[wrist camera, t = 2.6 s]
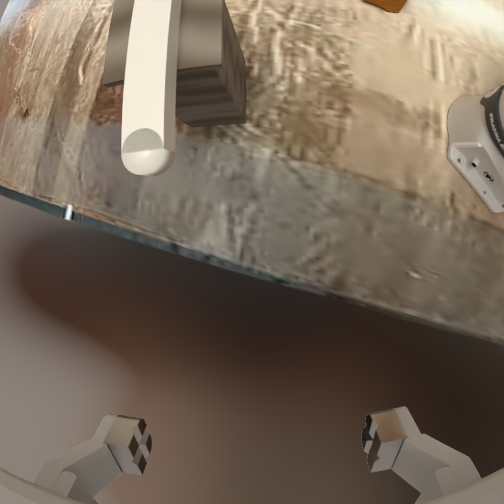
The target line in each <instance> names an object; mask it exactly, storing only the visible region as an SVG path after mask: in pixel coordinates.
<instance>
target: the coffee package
mask: <svg viewBox="0 0 504 504" xmlns="http://www.w3.org/2000/svg"><path fill="white" fill-rule="evenodd" d="M363 1H364V2H366V3H371V4H374V5H376V6H378V7H381V8H383V9H385V10H386V11H389V12H394V13H399V11H400V10H401V9H402V7H403V6H404V5H405V3H406V1H407V0H363Z"/></svg>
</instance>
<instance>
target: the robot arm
mask: <svg viewBox="0 0 504 504" xmlns="http://www.w3.org/2000/svg"><path fill="white" fill-rule="evenodd" d="M447 128H448V134H449V146H448V152H447V156H448V160H449V161H450V162H451V163H452V165H453V166H454V167H455V168H456V169H457V170H458V171H459V172H460V174H461V175H462V176H463V177H464V178H465V179H466V181H467V182H468V183H469V184H470V185H471V187H472V188H473V189H474V190H475V191H476V193H477V194H478V195H479V196H480V198H481V199H482V200H483V202H484V203H485V204H486V205H487V207H488V208H489V209H490V211H491V212H492V213H501V212H503V211H504V86H499V87H496V88H494V89H492V90H490V91H488V92H487V93H486V94H484V95H478V96H471V95H465V96H461V97H459V98H458V99H456V100H455V101H454V102H453V104H452V105H451V107H450V109H449V113H448V118H447ZM457 159H459V163H458V162H457ZM502 204H503V207H502ZM365 422H366V426H365V427H364V428H363V431H362V446H363V450H364V451H365V452H366V453H367V454H368V457H367V463H368V466H369V469H370V472H376V471H381V470H386V469H391V468H392V470H393V471H394V472H396V473H397V474H398V475H399V476H400V477H402V478H403V479H404V480H405V481H407V482H408V483H409V484H411V485H412V486H413V487H414V488H416V489H417V490H418V491H420V492H421V495H420V497H419V498H418V499H417V501H416V502H415V504H504V468H502V469H501V470H499V471H497V472H495V473H493V474H491V475H489V476H487V477H485V478H483V479H481V477H480V475H479V473H478V472H477V470H476V468H475V466H474V464H473V463H472V461H471V459H470V457H468V456H466V455H464V454H462V453H459V452H458V451H456V450H454V449H452V448H450V447H448V446H446V445H444V444H442V443H441V442H439V441H437V440H435V439H433V438H431V437H429V436H428V435H426V434H422V435H421V433H420V431H419V429H418V428H417V426H416V424H415V422H414V420H413V418H412V416H411V414H410V413H409V411H408V409H407V408H406V407H400V408H395V409H390V410H385V411H380V412H374V413H369V414H367V416H366V419H365ZM146 426H147V424H146V422H145V419H142V418H136V417H129V416H123V415H116V414H110V413H108V414H106V415H105V416H104V418H103V420H102V421H101V423H100V425H99V427H98V429H97V430H96V432H95V434H94V436H93V438H92V440H86V441H84V442H83V443H81V444H79V445H77V446H76V447H74V448H72V449H70V450H68V451H66V452H64V453H63V454H61V455H59V456H57V457H55V458H53V459H51V460H49V461H47V462H46V463H45V464H44V465H43V467H42V469H41V471H40V472H39V474H38V475H37V477H36V479H35V480H34V482H33V483H32V482H29V481H27V480H25V479H23V478H21V477H19V476H17V475H15V474H13V473H11V472H9V471H7V470H5V469H3V468H1V467H0V504H98V503H97V502H96V501H95V499H94V498H93V497H94V496H95V495H97V494H98V493H99V492H100V491H102V490H103V489H104V488H105V487H107V486H108V485H109V484H110V483H111V482H113V481H114V480H115V479H116V478H118V477H119V476H120V475H121V474H122V472H125V473H130V474H136V475H143V473H144V470H145V467H146V464H147V462H146V460H145V458H146V457H147V456H148V455H150V452H151V450H152V438H151V435H150V433H149V432H148V431H147V430H146Z"/></svg>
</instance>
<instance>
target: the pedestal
mask: <svg viewBox="0 0 504 504" xmlns="http://www.w3.org/2000/svg"><path fill="white" fill-rule="evenodd" d="M134 2H135V0H115V3H114V7H113V13H112V18H111V23H110V29H109V35H108V42H107V49H106V56H105V64H104V73H103V83H102V85H104V86H106V87H112V86H116V85H121V84H124V81H125V69H126V59H127V50H128V42H129V34H130V27H131V20H132V13H133V7H134ZM175 117H177V118H178V119H180V120H181V121H183V122H184V123H186V124H187V125H189V126H191V127H199V126H211V125H226V124H245V123H246V73H245V60H244V57H243V54H242V51H241V48H240V45H239V42H238V39H237V36H236V33H235V30H234V27H233V24H232V21H231V18H230V15H229V12H228V9H227V7H226V4H225V0H182V2H181V12H180V24H179V38H178V54H177V74H176V104H175Z"/></svg>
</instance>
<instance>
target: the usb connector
mask: <svg viewBox="0 0 504 504" xmlns="http://www.w3.org/2000/svg"><path fill="white" fill-rule="evenodd" d="M181 2H182V0H135V2H134V7H133V13H132V20H131V27H130V34H129V42H128V50H127V59H126V69H125V81H124V94H123V112H122V148H121V155H122V161H123V163H124V165H125V167H126V168H127V169H128V170H129V171H130V172H132V173H134V174H138V175H150V176H156V175H160V174H163V173H164V172H166V171H167V170H168V169H169V168H170V166H171V165H172V163H173V161H174V157H175V104H176V74H177V54H178V38H179V24H180V12H181Z"/></svg>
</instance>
